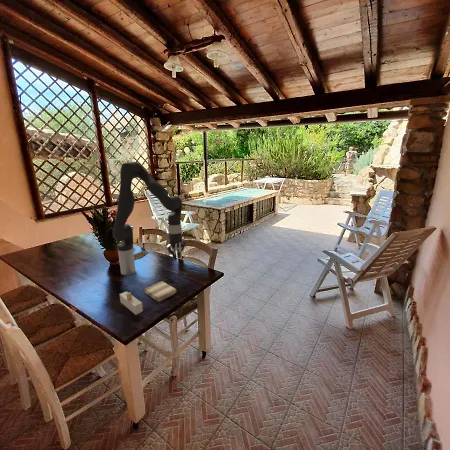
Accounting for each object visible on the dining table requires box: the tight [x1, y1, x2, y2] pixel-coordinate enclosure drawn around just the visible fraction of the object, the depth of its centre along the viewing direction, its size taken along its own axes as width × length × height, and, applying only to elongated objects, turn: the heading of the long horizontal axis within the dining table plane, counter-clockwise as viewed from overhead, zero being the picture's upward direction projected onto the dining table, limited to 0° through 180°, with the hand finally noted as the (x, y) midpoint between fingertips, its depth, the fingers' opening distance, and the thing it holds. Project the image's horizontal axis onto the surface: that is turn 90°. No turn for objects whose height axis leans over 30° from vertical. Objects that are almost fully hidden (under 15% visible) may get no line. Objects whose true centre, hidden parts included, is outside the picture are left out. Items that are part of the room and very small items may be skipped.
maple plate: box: [144, 280, 177, 303], centre depth 145 cm, size 14×12×3 cm
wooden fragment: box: [134, 251, 149, 260], centre depth 193 cm, size 26×11×1 cm, turn 140°
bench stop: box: [119, 291, 144, 316], centre depth 131 cm, size 16×4×8 cm, turn 48°
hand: (176, 258), depth 149 cm, fingers closed
